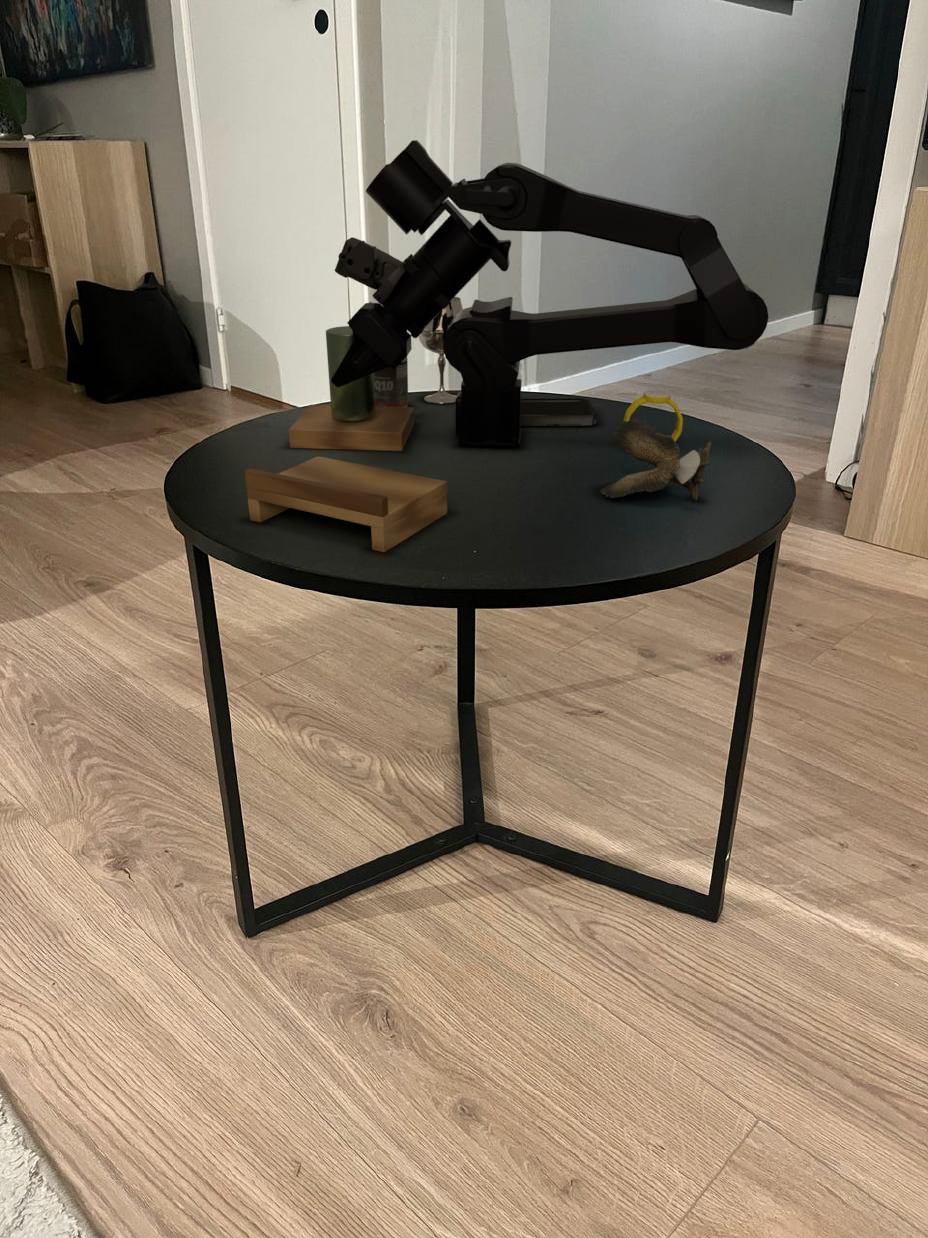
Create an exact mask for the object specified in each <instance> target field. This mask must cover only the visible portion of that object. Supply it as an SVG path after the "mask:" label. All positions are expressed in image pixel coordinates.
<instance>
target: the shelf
mask: <svg viewBox="0 0 928 1238" xmlns="http://www.w3.org/2000/svg"><path fill="white" fill-rule="evenodd" d="M244 478H245V486H246V495H247V504H248V506H247V507H248V514H249V520H250V521H251V522H256V523H262V522H265V521H266V520H269V519H271V518H273V517H275V516H277V515H279V514H281V513H283V512H285V511H287V510H290V509H293V510H298V511H303V512H307V513H310V514H315V515H319V516H323V517H329V518H333V519H337V520H341V521H346V522H349V523H350V522H351V523H355V524H359V525H363V526H369V527H370V532H371V549H372V550H373V551H377V552H381V553H385V552H387V551H389V550H391V549H392V548H394V547H395V546H397V545H399V544H400V543H402V542H404V541H405V540H407V539H409V538H410V537H411V536H413V535H415V534H416V533H418V532H419V531H421V530H423V529H425V528H426V527H428V526H430V525H431V524H433V523H434V522H436V521H437V520H439V519H441V518H442V517H444V516H446V515H448V481H447V480H442V479H438V478H432V477H427V476H420V475H417V474H411V473H407V472H401V471H396V470H390V469H386V468H382V467H375V466H370V465H367V464H366V465H365V464H360V463H355V462H351V461H344V460H340V459H334V458H329V457H324V456H319V455H318V456H315V457H313V458H310V459H309V460H306V461H304V462H302V463H299V464H297V465H295V466H292V467H290V468H288V469H286V470H283V471H281V472H278V473H276V472H271V471H267V470H262V469H258V468H257V469H256V468H252V467H249V468H247V469H245V470H244Z"/></svg>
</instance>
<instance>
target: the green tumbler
mask: <svg viewBox="0 0 928 1238" xmlns="http://www.w3.org/2000/svg"><path fill="white" fill-rule="evenodd" d="M325 341H326V354H327V370H328V371H327V372H328V385H329V397H330V399H329V400H330V405H331V415H332V417H333V418H335V419H338V420H343V421H360V420H366V419H370V418H372V417H374V416H375V415H376V407H375V386H374V373H372V374H370V375H367V376H365V377H362V378H360V379H358V380H355V381H353V382H351V383H348V384H346V385H343V386H341V387H336V386H335V385H334V384H333V383H332V382H331V379H332V377H333V375H334V373H335V372H336V370H337V368H338V367H339V365H340V363H341V362H342V360H343V358H344V357H345V355H346V353H347V351H348V350H349V348H350V346H351V345H352V343H353V332H352V329H351V328H350V327H349V325H344V326H343V325H342V326H334V327H329V328H328V329H326V330H325Z"/></svg>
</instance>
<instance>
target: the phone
mask: <svg viewBox="0 0 928 1238" xmlns="http://www.w3.org/2000/svg"><path fill="white" fill-rule="evenodd" d="M597 419H598V412H597V410H596V409H595V407H594V405H593V404H592V402H591V400H590V399H587V398H521V409H520V427H524V426H525V427H531V426H532V427H546V426H547V427H554V426H556V427H558V426H560V427H562V426H565V427H566V426H568V427H569V426H570V427H571V426H573V427H575V426H576V427H579V426H594V425H597V421H598V420H597Z"/></svg>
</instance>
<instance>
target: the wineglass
mask: <svg viewBox="0 0 928 1238" xmlns="http://www.w3.org/2000/svg"><path fill="white" fill-rule="evenodd" d="M463 309H464V308H463V305H462V299H461V298H460V297H458V296H455V297H454V298H453V299H452V301H451V303H450V304H449V305H448V306H447V307H446V308H445V309H442V311H441V312H440V313H439V314H438V315H437V316H436V317H435V318H434V319H433V320H432V321H431V322H430V323H429V324H428V325H427V326H426V327H425V329H424V331H423V332H422V333H421V334H420V335H419V336H418V337H417V338H418V340H419V342H420V344H421V345H422V346H423V347H424V348H425V349H426V350H428V351H430V352H432V353H435V354H438V355H439V356H438V357H437V366H438V372H439V389H438V391H437V392H435V393H432V394H428V395H425V397H424V398H423V400H424V401H425V402H427V403H431V404H441V405H442V404H443V405H445V404H446V405H447V404H453V403H456V397H457V394H451V393H448V392H447V391H446V389H445V384H444V383H445V382H444V381H445V380H444V379H445V378H444V377H445V375H444V374H445V367H446V363H447V362H446V360H447V359H446V357H445V354H444V350H443V340H444V337H445V334H446V331H447V329H448V327H449V325H450V323H451V321H452V320H453V318H454V317H455V316H456V315H457V314H458V313H459V312H460V311H461V310H463Z"/></svg>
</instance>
